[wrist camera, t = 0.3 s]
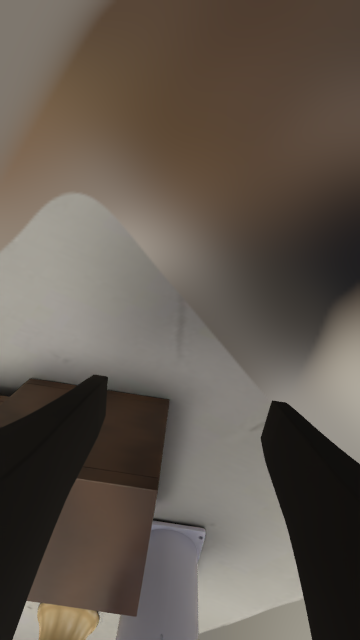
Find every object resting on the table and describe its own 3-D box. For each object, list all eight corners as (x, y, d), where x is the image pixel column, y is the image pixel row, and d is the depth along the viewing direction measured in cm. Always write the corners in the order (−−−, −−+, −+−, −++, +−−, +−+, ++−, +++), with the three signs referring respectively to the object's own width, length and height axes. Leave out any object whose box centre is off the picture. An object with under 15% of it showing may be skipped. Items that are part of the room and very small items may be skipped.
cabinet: (35, 484, 27) (-32, 592, 19) (30, 377, 23) (-60, 457, 15) (153, 502, 27) (136, 617, 19) (169, 399, 23) (157, 490, 15)
